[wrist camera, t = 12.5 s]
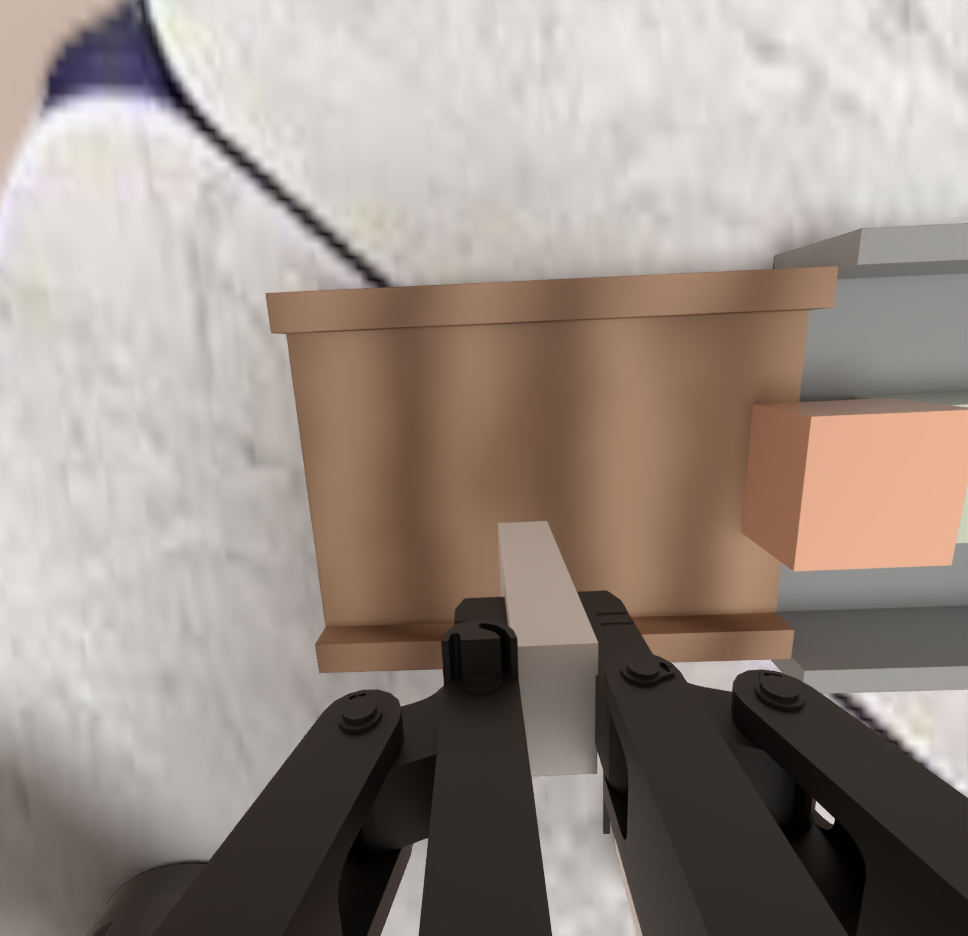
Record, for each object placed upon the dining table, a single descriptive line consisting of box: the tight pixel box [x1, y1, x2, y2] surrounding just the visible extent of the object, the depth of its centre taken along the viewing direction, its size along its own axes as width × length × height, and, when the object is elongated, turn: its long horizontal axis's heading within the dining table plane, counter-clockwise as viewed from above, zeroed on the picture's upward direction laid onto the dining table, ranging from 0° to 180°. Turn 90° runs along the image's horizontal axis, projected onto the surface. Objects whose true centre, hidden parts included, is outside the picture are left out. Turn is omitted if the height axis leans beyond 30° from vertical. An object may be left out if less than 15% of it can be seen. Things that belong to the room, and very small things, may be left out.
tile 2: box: [742, 398, 968, 571], centre depth 20 cm, size 6×6×4 cm
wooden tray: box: [266, 266, 839, 673], centre depth 23 cm, size 22×17×4 cm
